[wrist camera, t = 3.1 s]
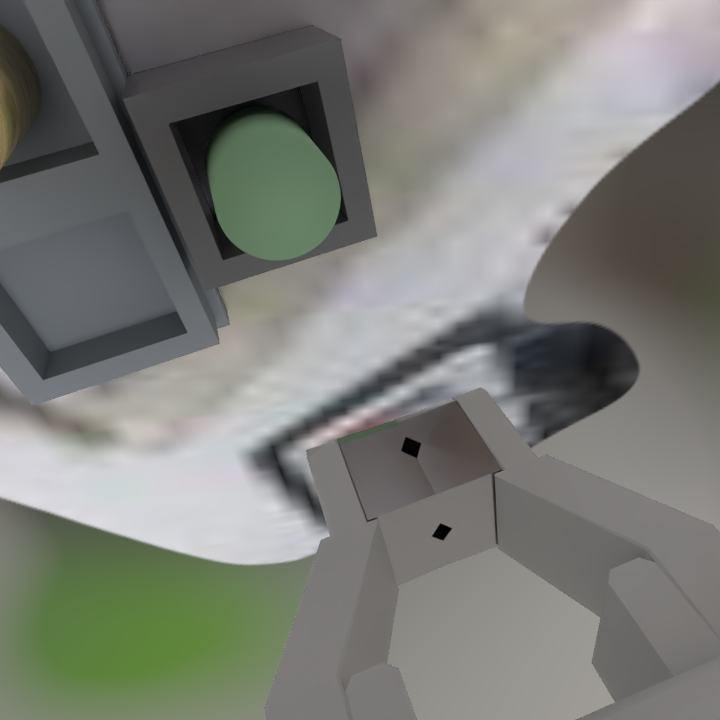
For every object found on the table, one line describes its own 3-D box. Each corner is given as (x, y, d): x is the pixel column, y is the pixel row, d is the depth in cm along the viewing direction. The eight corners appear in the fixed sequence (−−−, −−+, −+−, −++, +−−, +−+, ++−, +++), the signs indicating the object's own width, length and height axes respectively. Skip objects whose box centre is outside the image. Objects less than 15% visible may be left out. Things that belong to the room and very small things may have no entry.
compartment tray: (-283, -51, 15) (-367, -51, 13) (42, -126, 16) (22, -139, 14) (39, 372, 25) (26, 418, 23) (227, 311, 26) (234, 348, 24)
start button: (187, 123, 19) (193, 157, 16) (298, 92, 19) (325, 119, 16) (227, 228, 21) (239, 275, 18) (323, 198, 22) (351, 239, 19)
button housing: (127, 75, 20) (122, 99, 17) (312, 25, 20) (340, 38, 17) (199, 247, 24) (206, 290, 21) (349, 200, 25) (377, 236, 22)
